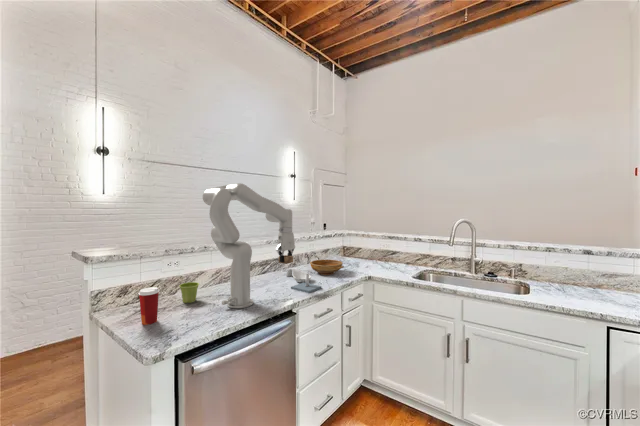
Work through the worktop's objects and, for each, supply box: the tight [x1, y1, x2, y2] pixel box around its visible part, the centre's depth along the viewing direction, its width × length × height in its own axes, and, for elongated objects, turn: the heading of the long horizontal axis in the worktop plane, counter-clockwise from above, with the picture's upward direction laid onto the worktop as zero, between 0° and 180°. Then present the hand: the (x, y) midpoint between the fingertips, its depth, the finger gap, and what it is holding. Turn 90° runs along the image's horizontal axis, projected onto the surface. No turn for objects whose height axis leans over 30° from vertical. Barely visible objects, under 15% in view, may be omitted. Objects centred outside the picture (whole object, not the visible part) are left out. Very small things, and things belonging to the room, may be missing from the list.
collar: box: [278, 254, 294, 265], centre depth 163 cm, size 6×6×4 cm
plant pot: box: [179, 281, 200, 304], centre depth 145 cm, size 9×9×9 cm
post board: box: [290, 272, 322, 294], centre depth 168 cm, size 12×14×9 cm
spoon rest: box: [285, 267, 312, 284], centre depth 189 cm, size 24×12×7 cm, turn 37°
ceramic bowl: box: [309, 259, 345, 276], centre depth 207 cm, size 30×24×8 cm
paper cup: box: [138, 286, 160, 326], centre depth 119 cm, size 8×8×14 cm
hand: (285, 260), depth 163 cm, fingers closed on collar, 6 cm apart
